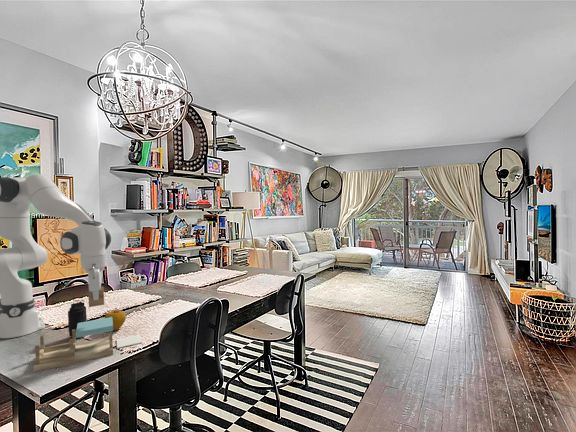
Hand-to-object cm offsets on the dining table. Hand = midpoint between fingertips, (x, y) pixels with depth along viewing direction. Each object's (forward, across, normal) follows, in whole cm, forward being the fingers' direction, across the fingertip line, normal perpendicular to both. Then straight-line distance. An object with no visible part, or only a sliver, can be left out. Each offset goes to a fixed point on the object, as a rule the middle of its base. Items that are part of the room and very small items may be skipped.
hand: (96, 297), depth 125 cm
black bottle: (+21, +21, +8) cm, 30 cm away
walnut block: (+3, 0, 0) cm, 3 cm away
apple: (+21, +20, -6) cm, 29 cm away
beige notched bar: (+21, 0, +8) cm, 22 cm away
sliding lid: (+12, 0, +1) cm, 12 cm away
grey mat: (+21, +2, -10) cm, 23 cm away
